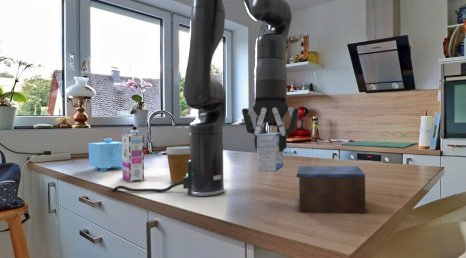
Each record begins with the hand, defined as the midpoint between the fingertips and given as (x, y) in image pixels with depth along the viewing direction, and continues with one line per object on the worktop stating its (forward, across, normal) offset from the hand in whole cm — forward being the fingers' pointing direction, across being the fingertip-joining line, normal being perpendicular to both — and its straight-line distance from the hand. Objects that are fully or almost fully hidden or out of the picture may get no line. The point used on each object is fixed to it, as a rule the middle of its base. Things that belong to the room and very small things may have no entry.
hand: (270, 150), depth 71 cm
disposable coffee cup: (+14, +36, -28) cm, 47 cm away
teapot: (+15, +81, -54) cm, 98 cm away
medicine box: (+5, 0, 0) cm, 5 cm away
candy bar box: (+15, +56, -32) cm, 66 cm away
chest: (+13, -14, -2) cm, 20 cm away
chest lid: (+5, -14, -2) cm, 15 cm away
